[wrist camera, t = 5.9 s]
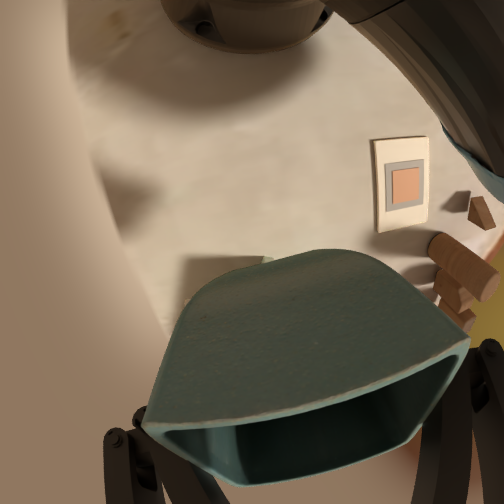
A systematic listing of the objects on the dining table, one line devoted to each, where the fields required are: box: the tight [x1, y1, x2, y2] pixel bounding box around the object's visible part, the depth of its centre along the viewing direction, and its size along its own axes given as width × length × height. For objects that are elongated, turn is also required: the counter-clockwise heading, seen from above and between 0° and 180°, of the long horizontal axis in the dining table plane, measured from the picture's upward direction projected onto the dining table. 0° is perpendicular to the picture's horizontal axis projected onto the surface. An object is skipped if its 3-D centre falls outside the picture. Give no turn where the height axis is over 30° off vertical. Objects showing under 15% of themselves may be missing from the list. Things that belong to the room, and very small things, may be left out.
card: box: [373, 137, 429, 233], centre depth 25 cm, size 10×7×1 cm
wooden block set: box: [428, 196, 500, 333], centre depth 26 cm, size 18×9×10 cm, turn 8°
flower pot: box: [141, 249, 471, 487], centre depth 11 cm, size 9×9×9 cm
